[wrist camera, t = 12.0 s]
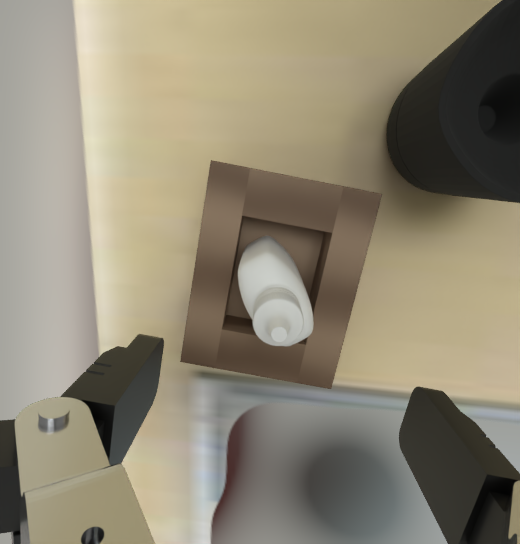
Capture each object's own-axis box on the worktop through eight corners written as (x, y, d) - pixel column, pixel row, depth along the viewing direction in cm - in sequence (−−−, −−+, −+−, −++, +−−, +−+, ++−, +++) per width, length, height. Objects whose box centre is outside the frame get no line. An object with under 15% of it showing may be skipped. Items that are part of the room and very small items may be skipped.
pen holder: (540, 119, 25) (712, 75, 16) (445, 224, 27) (546, 243, 17) (445, 26, 24) (566, -84, 14) (351, 142, 26) (403, 114, 16)
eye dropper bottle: (245, 307, 28) (230, 393, 16) (244, 234, 26) (226, 271, 15) (301, 307, 28) (327, 393, 16) (303, 234, 26) (332, 270, 15)
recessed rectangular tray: (219, 164, 26) (210, 160, 22) (365, 193, 27) (382, 194, 23) (191, 338, 30) (180, 361, 26) (322, 362, 30) (331, 388, 26)
